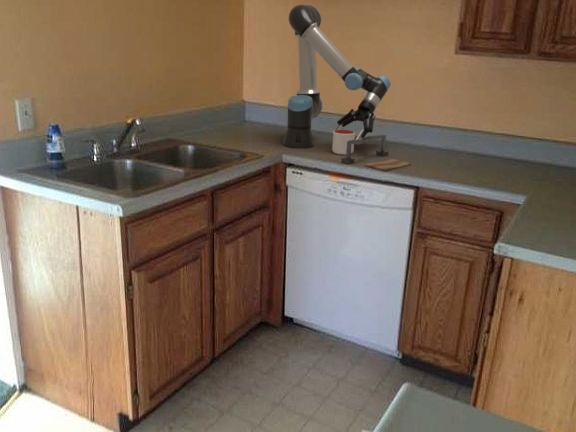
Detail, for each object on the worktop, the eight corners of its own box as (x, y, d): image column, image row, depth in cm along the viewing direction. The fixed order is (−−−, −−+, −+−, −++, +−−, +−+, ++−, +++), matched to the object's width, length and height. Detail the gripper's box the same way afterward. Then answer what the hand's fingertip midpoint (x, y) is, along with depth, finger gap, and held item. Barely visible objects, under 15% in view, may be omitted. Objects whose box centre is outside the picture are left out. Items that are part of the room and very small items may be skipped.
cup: (352, 156, 250) (353, 134, 247) (330, 154, 252) (332, 133, 248) (354, 151, 259) (355, 130, 256) (333, 149, 261) (334, 129, 258)
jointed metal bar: (340, 162, 239) (342, 140, 235) (380, 153, 256) (382, 133, 253) (348, 164, 235) (350, 142, 232) (388, 155, 253) (390, 135, 250)
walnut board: (364, 166, 234) (364, 164, 234) (390, 160, 246) (390, 158, 245) (385, 171, 226) (385, 169, 226) (410, 165, 238) (410, 163, 238)
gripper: (393, 113, 252) (369, 149, 247) (352, 106, 269) (329, 139, 264) (387, 102, 246) (363, 139, 242) (345, 96, 263) (322, 130, 259)
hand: (345, 139), depth 253 cm, fingers open, 13 cm apart
